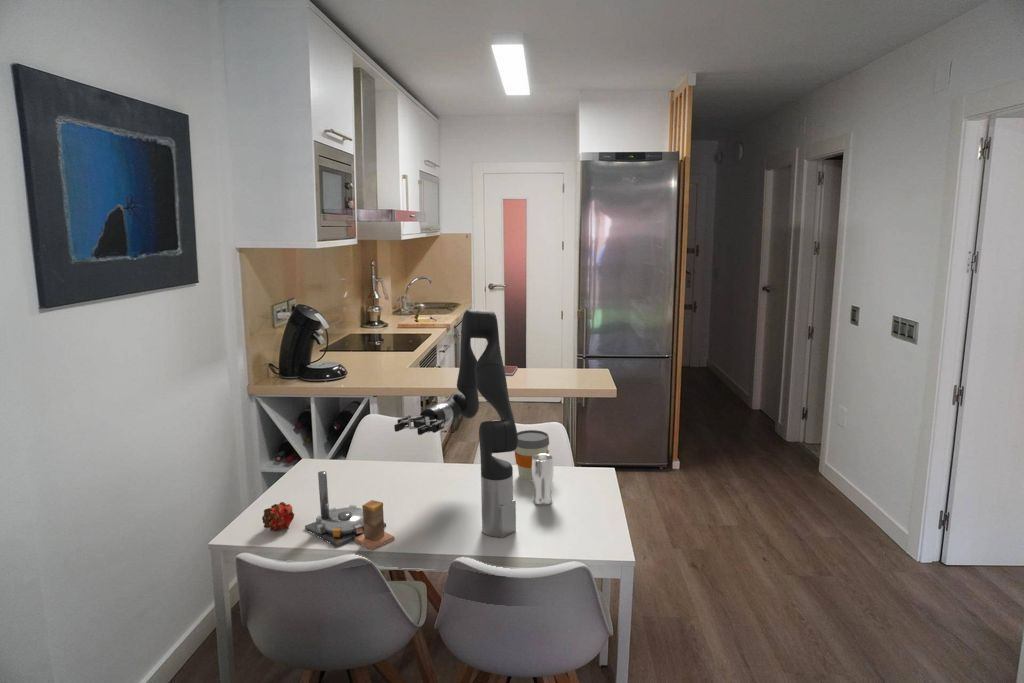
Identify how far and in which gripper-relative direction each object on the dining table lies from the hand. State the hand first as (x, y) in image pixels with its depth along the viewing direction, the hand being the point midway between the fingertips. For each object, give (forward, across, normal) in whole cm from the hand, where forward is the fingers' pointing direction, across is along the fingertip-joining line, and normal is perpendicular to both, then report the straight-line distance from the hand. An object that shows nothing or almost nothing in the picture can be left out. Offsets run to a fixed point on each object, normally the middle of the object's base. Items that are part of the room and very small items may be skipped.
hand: (406, 430), depth 206 cm
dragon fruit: (+24, -31, +28) cm, 48 cm away
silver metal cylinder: (-28, +32, +28) cm, 51 cm away
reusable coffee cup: (-46, +19, +27) cm, 57 cm away
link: (+17, 0, +27) cm, 32 cm away
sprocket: (+15, -13, +26) cm, 33 cm away
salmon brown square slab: (+18, 0, +28) cm, 33 cm away
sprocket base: (+15, -13, +28) cm, 34 cm away
